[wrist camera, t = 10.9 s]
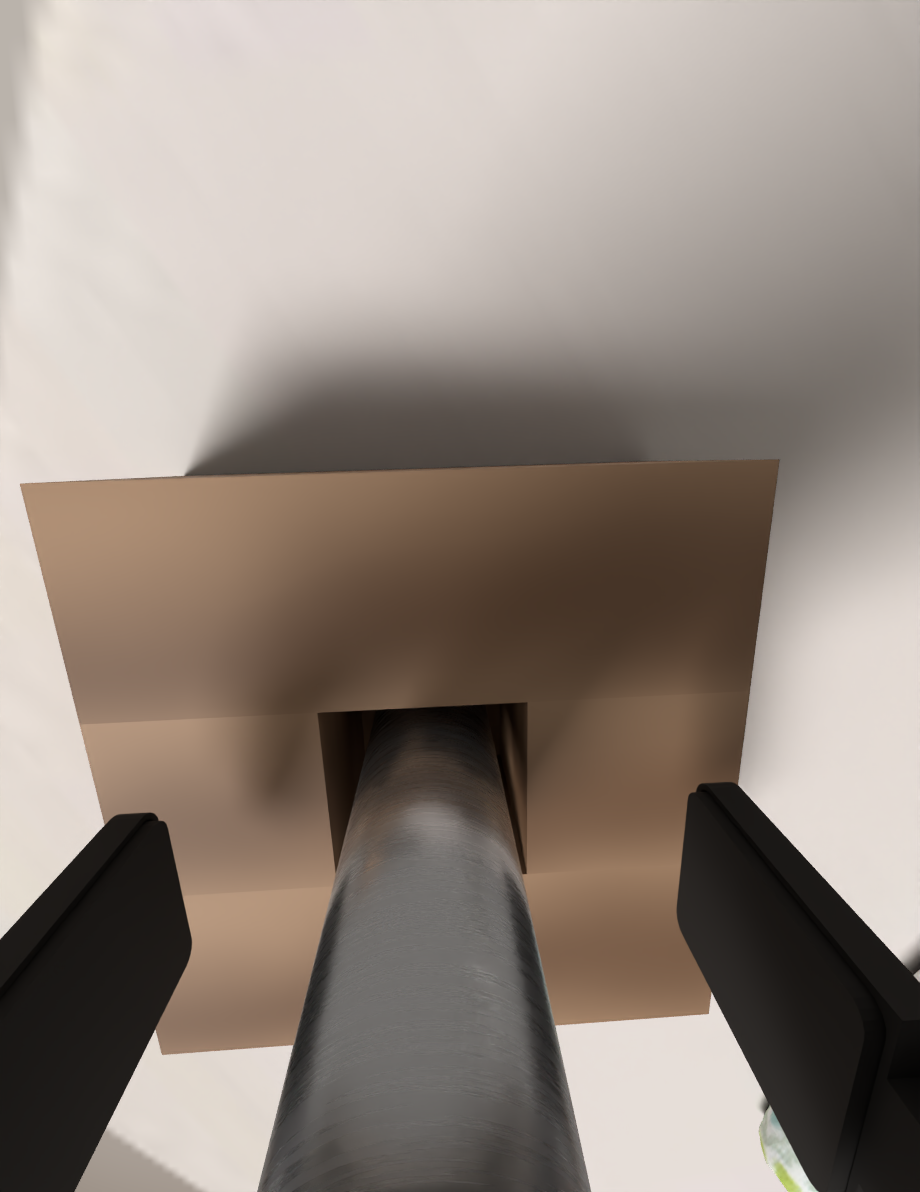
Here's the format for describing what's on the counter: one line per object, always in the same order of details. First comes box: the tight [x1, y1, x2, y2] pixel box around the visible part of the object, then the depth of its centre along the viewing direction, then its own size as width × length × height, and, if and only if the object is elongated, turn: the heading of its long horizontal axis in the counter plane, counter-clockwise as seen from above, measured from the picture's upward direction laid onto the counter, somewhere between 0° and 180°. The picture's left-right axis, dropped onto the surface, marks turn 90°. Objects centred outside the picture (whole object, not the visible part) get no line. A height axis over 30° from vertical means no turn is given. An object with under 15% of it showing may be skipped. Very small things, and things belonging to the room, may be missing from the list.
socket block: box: [20, 459, 779, 1055], centre depth 14 cm, size 14×14×6 cm
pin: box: [257, 704, 591, 1192], centre depth 10 cm, size 3×3×12 cm
